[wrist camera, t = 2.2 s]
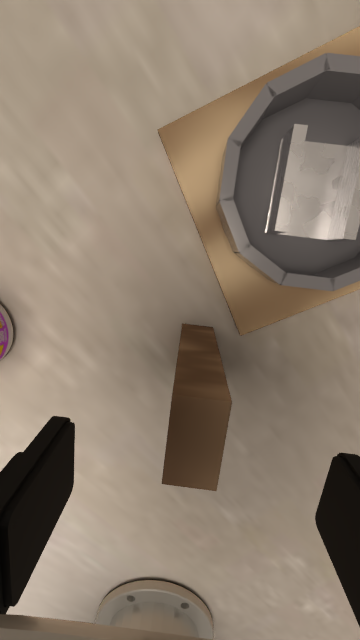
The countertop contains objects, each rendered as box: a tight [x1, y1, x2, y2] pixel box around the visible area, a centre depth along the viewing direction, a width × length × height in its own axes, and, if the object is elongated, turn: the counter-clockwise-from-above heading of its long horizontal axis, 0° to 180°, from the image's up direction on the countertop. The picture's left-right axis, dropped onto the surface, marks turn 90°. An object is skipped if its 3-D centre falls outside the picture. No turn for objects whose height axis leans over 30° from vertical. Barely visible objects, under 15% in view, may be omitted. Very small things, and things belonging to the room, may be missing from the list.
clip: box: [265, 124, 360, 241], centre depth 19 cm, size 5×6×3 cm
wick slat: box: [162, 324, 232, 491], centre depth 19 cm, size 2×4×12 cm, turn 174°
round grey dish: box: [216, 53, 360, 291], centre depth 19 cm, size 13×13×4 cm
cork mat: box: [158, 26, 360, 335], centre depth 21 cm, size 16×16×1 cm
